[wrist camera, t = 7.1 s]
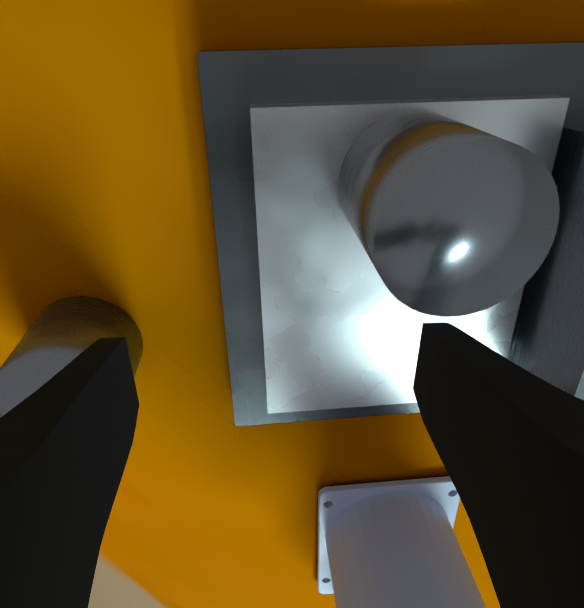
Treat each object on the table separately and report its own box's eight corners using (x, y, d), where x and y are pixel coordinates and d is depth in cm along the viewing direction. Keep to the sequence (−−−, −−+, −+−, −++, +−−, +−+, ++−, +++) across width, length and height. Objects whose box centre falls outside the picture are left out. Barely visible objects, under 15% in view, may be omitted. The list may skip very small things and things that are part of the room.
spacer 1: (150, 379, 22) (127, 464, 18) (49, 386, 22) (0, 474, 17) (132, 292, 20) (101, 364, 15) (19, 299, 19) (-45, 374, 15)
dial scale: (555, 380, 24) (649, 484, 18) (235, 404, 23) (233, 521, 17) (661, 39, 17) (870, 40, 11) (200, 50, 16) (176, 57, 10)
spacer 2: (461, 242, 17) (535, 311, 13) (336, 248, 17) (368, 321, 12) (483, 107, 15) (582, 135, 11) (340, 111, 15) (381, 141, 10)
